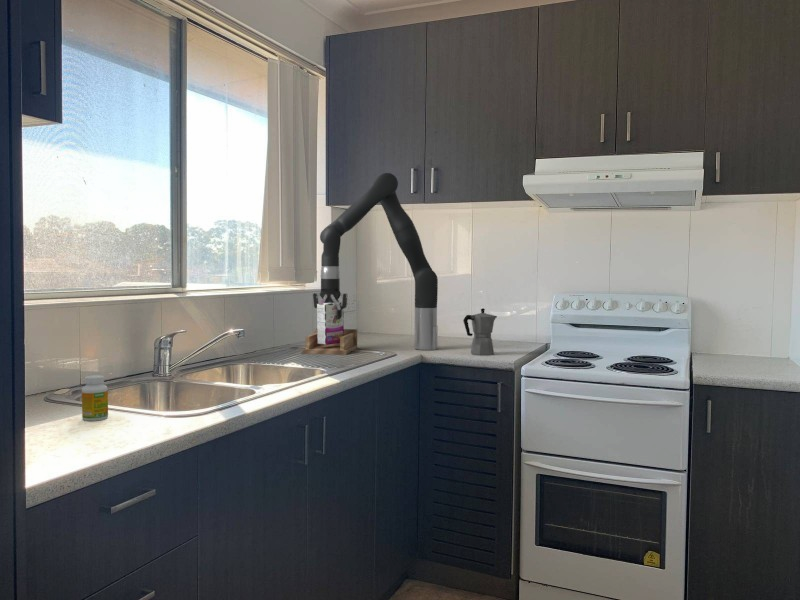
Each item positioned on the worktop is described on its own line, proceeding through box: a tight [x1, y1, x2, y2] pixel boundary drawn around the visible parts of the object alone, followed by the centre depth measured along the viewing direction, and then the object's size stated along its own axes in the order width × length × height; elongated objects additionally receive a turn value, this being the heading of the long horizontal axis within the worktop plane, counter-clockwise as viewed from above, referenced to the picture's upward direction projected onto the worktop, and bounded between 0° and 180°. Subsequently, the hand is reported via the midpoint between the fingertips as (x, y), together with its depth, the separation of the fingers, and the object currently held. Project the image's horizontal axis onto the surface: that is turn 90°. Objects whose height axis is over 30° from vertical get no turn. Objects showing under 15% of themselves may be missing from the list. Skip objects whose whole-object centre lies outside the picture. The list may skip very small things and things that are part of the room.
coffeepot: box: [462, 307, 498, 356], centre depth 263 cm, size 15×9×18 cm, turn 117°
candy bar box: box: [316, 301, 345, 345], centre depth 270 cm, size 11×5×16 cm, turn 144°
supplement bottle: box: [81, 374, 109, 422], centre depth 153 cm, size 5×5×10 cm
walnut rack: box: [301, 327, 358, 356], centre depth 270 cm, size 18×19×8 cm
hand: (330, 318), depth 270 cm, fingers closed on candy bar box, 6 cm apart
